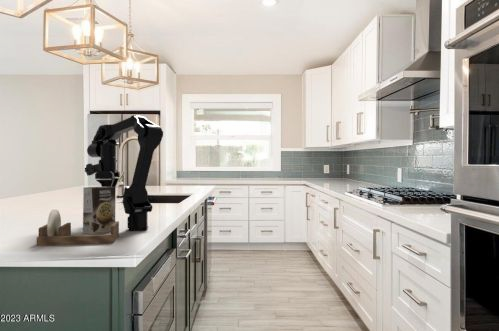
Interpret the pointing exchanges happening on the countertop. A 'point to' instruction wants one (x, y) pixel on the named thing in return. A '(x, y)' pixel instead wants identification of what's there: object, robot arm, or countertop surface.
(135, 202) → the robot arm
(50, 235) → the rack
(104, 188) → the coffee box
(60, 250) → the countertop surface
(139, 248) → the countertop surface
